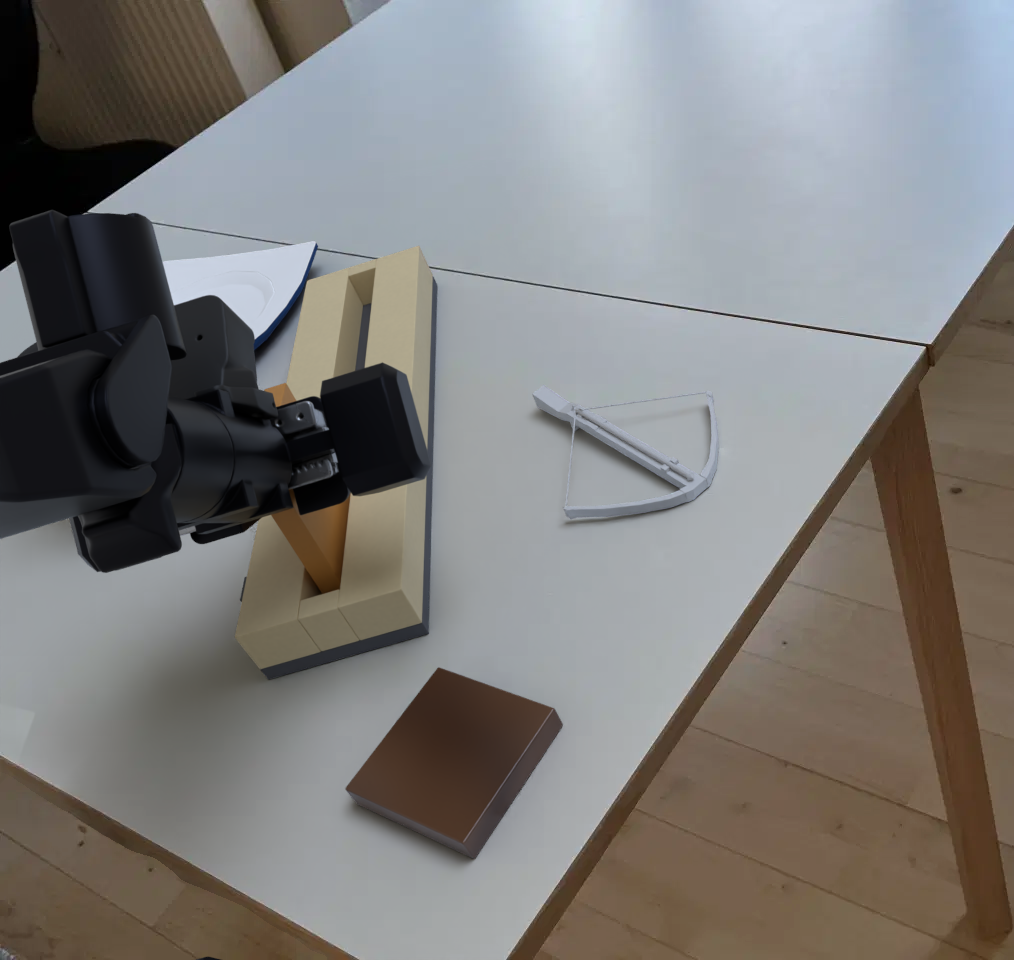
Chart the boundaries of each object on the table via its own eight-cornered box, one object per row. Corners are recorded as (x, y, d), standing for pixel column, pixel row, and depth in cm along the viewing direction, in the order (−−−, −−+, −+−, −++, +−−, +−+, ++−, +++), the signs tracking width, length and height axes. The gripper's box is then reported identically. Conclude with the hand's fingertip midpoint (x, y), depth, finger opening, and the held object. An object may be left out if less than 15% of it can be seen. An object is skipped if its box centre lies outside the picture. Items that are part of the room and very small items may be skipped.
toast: (353, 602, 66) (265, 463, 59) (331, 608, 66) (241, 470, 59) (364, 516, 72) (286, 381, 65) (343, 522, 72) (264, 388, 65)
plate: (242, 400, 89) (225, 374, 87) (48, 415, 96) (29, 391, 94) (343, 258, 103) (330, 233, 101) (167, 280, 110) (153, 257, 108)
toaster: (429, 634, 64) (401, 589, 61) (255, 683, 65) (220, 641, 62) (437, 284, 94) (419, 245, 92) (319, 321, 95) (297, 283, 92)
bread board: (474, 860, 52) (463, 843, 51) (356, 804, 56) (343, 788, 55) (564, 724, 57) (554, 707, 56) (448, 682, 61) (438, 666, 60)
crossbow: (774, 441, 69) (769, 417, 68) (629, 566, 65) (621, 543, 63) (609, 354, 79) (602, 331, 78) (473, 457, 75) (463, 435, 73)
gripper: (320, 234, 50) (419, 303, 66) (-51, 352, 52) (131, 392, 67) (383, 468, 50) (468, 481, 65) (5, 581, 51) (176, 568, 67)
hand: (308, 476), depth 66 cm, fingers closed on toast
